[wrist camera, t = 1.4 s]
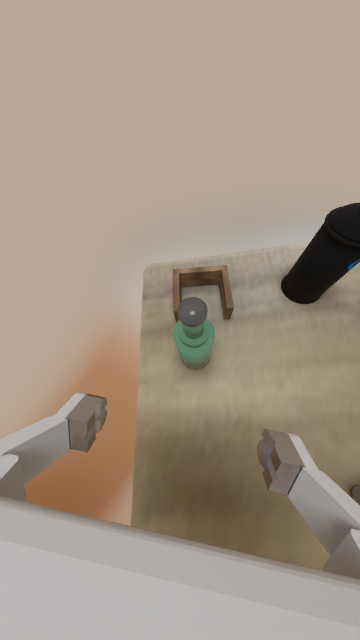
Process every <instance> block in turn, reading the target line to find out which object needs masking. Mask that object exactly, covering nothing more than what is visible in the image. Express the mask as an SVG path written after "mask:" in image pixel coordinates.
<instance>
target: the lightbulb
mask: <svg viewBox="0 0 360 640" xmlns="http://www.w3.org/2000/svg"><path fill="white" fill-rule="evenodd" d="M352 496H353V499H354V501H356V502H357V503H358V504H359V505H360V486H355V487H354V488H353V490H352Z"/></svg>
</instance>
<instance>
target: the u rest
mask: <svg viewBox="0 0 360 640" xmlns="http://www.w3.org/2000/svg"><path fill="white" fill-rule="evenodd" d="M214 284H219V286H220V294H221V301H222V309H223V317H224V319H230V316H231V314H232V311H233V308H234V307H233V301H232V294H231V288H230V282H229V276H228V269H227V265H222V266H210V267H197V268H184V269H173V305H174V315H175V319H176V322H178V321H179V317H178V313H177V309H178V306H179V304H180V303H181V287H186V286H200V285H214Z"/></svg>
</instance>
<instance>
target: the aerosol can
mask: <svg viewBox="0 0 360 640" xmlns="http://www.w3.org/2000/svg"><path fill="white" fill-rule="evenodd" d="M359 262H360V203H353V204H349V205H346V206H343V207H339V208H336V209H334V210H332V211H331V212H330V213H329V214H328V215H327V216H326V218H325V222H324V224H323V225H322V226H321V228H320V229H319V231H318V232H317V233H316V235H315V236H314V238H313V239H312V241H311V242H310V243H309V245H308V246H307V248H306V249H305V250H304V252H303V253H302V255H301V256H300V257H299V259H298V260H297V262H296V263H295V265H294V266H293V267H292V269H291V270H290V272H289V273H288V274H287V275H286V276H285V277H284V278H283V280H282V282H281V288H282V291H283V293H284V294H285V296H287V297H288V298H289V299H290V300H292V301H294V302H297V303H302V304H308V303H312V302H315V301H316V300H318V299H319V298H320V296H321V295H322V294H323V293H324V292H325V291H326V290H327V289H329V288H330V287H331V286H332V285H333V284H334V283H335V282H337V281H338V280H339V279H340V278H341V277H342V276H344V275H345V274H346V273H347V272H348V271H349V270H351V269H352V268H353V267H354V266H355V265H356V264H358V263H359Z"/></svg>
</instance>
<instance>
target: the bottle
mask: <svg viewBox="0 0 360 640" xmlns="http://www.w3.org/2000/svg"><path fill="white" fill-rule="evenodd" d="M177 313H178V317H179V321H178V322H177V323H176V325H175V327H174V331H173V338H174V341H175V344H176V346H177V349H178V351H179V354H180V356H181V359H182V361H183V363H184V364H185V365H186V366H187V367H188V368H190V369H194V370H197V369H201V368H203V367H204V366H206V364H207V363H208V361H209V358H210V354H211V350H212V346H213V342H214V338H215V330H214V327H213V325H212V323H211V322H210V321H209V320H208V319H207V318H206V317H207V306H206V304H205V303H204V302H203V301H202V300H201V299H199V298H195V297H190V298H186V299H184V300H183V301H182V302H181V303H180V304H179V306H178V309H177Z"/></svg>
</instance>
